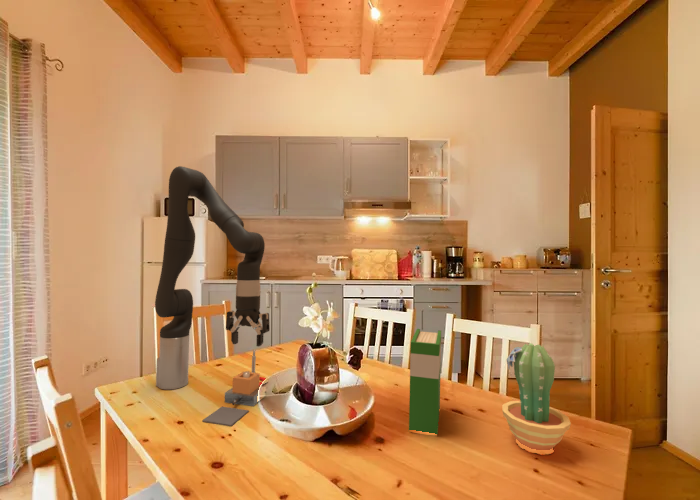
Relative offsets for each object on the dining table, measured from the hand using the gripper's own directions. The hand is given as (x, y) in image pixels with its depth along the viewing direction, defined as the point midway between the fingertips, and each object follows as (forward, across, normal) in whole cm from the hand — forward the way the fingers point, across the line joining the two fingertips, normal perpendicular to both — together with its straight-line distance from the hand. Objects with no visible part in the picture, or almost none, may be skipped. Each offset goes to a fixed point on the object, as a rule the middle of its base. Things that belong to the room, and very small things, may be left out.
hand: (247, 344), depth 110 cm
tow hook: (+18, -4, +13) cm, 22 cm away
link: (+14, 0, 0) cm, 14 cm away
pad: (+17, +1, -12) cm, 21 cm away
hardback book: (+18, +56, +3) cm, 59 cm away
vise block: (+17, 0, -1) cm, 17 cm away
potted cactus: (+18, +83, -3) cm, 85 cm away
